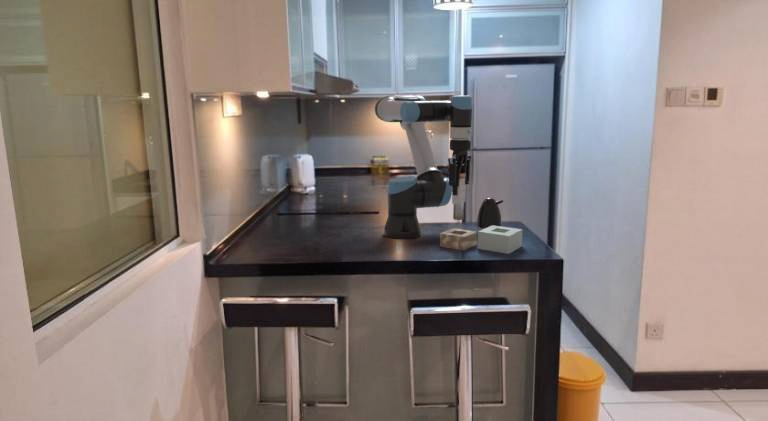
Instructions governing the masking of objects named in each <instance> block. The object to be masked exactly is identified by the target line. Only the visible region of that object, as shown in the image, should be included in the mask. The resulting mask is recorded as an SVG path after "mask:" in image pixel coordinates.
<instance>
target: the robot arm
mask: <svg viewBox="0 0 768 421" xmlns="http://www.w3.org/2000/svg"><path fill="white" fill-rule="evenodd" d="M472 100H473V98H472V96H471V95H452V96H451V98H450V100H430V101H429V100H427V99H425V98H424V97H423V96H422V95H416V94H411V95H387V96H383V97H381V98H379V99H378V100H377V102H376V103H375V106H374V113H375V115H376V117H377V118H378V119H379V120H380V121H383V122H385V123H386V122H387V123H399V125H400V127H401V129H402V130H404V131H405V132H406V137H407V139H408V144H409V148H410V151H411V155H412V159H413V162H414V166H415V170H416V173H417V174H416V176H413V175H412V176H411V175H409V176H400V177H395V178H393V179H390V180H389V182H388V184H387V213H388V214H387V220H386V221H385V225H384V228H383V235H384V236H385V237H387V238H390V239H397V240H398V239H405V240H406V239H415V238H418V237H420V236H421V235H422V229H421V226H420V222H419V220H418V216H417V215H418V214H417V213H418V212H417V210H418V209H422V208H423V209H424V208H425V209H427V208H436V207H437V208H439V207H445V206H447V205H448V204H449V203H450V201H451V204H460V186H459V178H460V172H461V173H466V177H465V197H464V203H466V197H467V194H466V193H467V185H469V184H470V179H471V178H470V176H471V175H470V173H471V161H472V155H469V154H468V151H470V150H471V145H472V140H471V138H472V117H473V102H472ZM430 122H431V123H432V122H437V123H439V122H450V123H449V124H450V125H449V127H450V128H449V138H450V140H449V150H450V151H452V156H451V157H449V158H448V159H447V162H448V177H444V174H443V171H441V170H439V169H438V166H437V164H436V160H435V157H434V153H433V149H432V147H431V143H430V140H429V136H428V132H427V129H426V123H430Z"/></svg>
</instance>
